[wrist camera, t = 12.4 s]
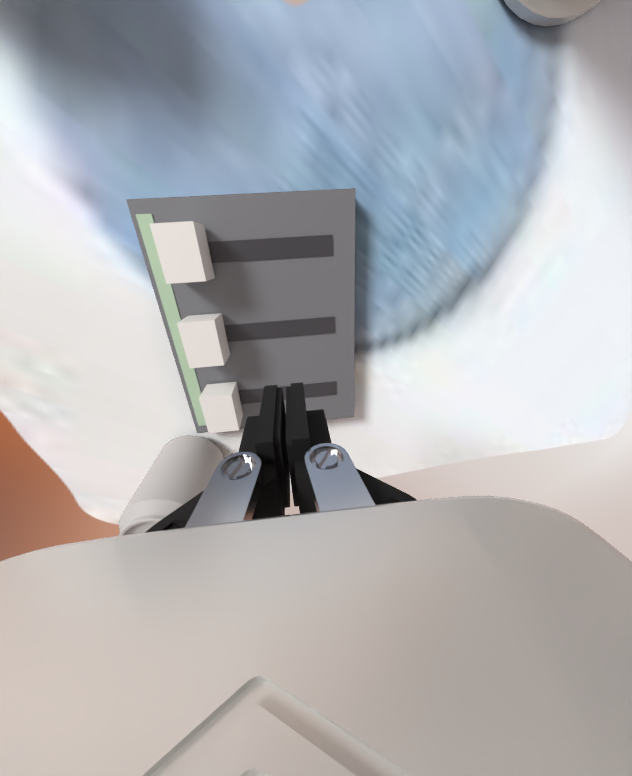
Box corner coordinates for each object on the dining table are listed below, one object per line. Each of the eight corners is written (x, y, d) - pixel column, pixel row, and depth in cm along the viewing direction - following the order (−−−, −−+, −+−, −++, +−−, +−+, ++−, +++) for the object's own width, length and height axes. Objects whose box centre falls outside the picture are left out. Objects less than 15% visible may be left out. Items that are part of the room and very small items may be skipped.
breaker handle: (221, 313, 25) (214, 320, 23) (230, 354, 27) (224, 365, 24) (188, 315, 25) (176, 323, 22) (199, 356, 27) (189, 368, 24)
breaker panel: (350, 193, 24) (366, 178, 19) (350, 408, 34) (361, 433, 29) (138, 203, 23) (100, 190, 18) (202, 423, 33) (188, 452, 28)
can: (234, 469, 36) (213, 560, 26) (180, 483, 36) (136, 579, 26) (211, 424, 33) (176, 506, 22) (152, 440, 33) (88, 529, 22)
